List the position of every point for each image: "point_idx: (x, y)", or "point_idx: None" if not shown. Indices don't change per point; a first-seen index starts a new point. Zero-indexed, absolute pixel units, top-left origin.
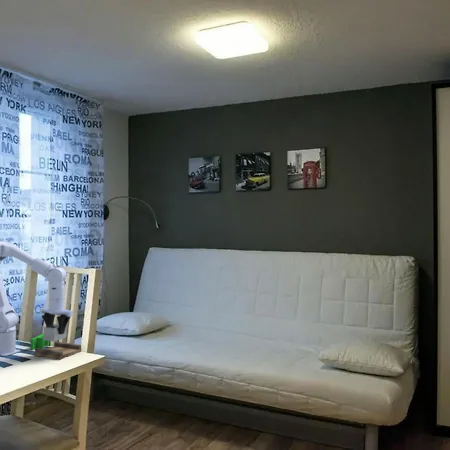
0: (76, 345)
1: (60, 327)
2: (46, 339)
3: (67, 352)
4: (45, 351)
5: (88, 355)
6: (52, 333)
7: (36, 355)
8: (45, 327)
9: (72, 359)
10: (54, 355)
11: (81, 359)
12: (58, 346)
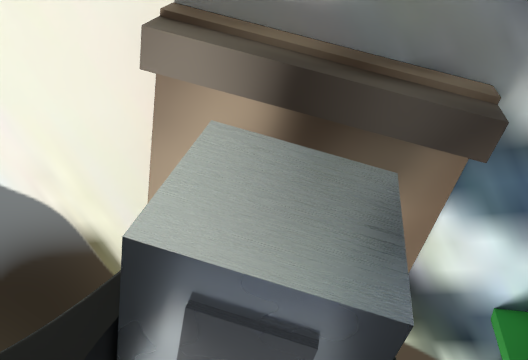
0: None
1: (73, 312)
2: (344, 164)
3: (175, 156)
4: (349, 76)
5: (42, 169)
6: (203, 185)
7: (466, 80)
8: (366, 309)
9: (76, 40)
10: (231, 36)
11: (12, 55)
12: None
